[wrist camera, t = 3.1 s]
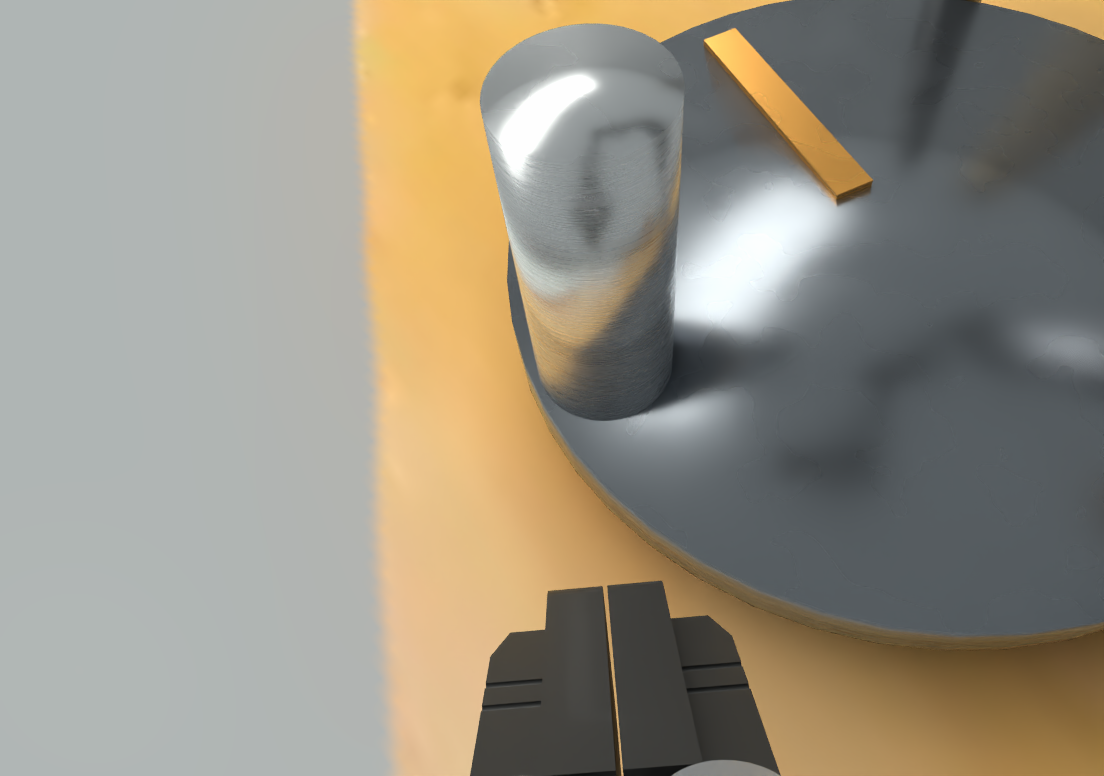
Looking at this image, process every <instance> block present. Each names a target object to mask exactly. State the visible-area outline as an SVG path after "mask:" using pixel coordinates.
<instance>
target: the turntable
mask: <svg viewBox="0 0 1104 776" xmlns="http://www.w3.org/2000/svg"><path fill="white" fill-rule="evenodd" d="M480 106H481V113H482V118H483V122H484V127H485V131H486V136H487V141H488V145H489V150H490V154H491V159H492V163H493V168H494V173H495V177H496V182H497V186H498V191H499V195H500V200H501V205H502V209H503V214H504V218H505V223H506V228H507V232H508V237H509V252H508V275H507V283H508V291H509V300H510V308H511V316H512V323H513V327H514V331H515V335H516V339H517V343H518V347H519V351H520V355H521V358H522V362H523V365H524V369H525V372H526V376H527V379H528V382H529V386H530V389H531V392H532V394H533V396H534V399H535V401H536V403H537V405H538V407H539V409H540V411H541V414H542V416H543V418H544V420H545V422H546V424H547V427H548V429H549V431H550V432H551V434H552V436H553V437H554V439H555V440H556V442H557V443H558V445H559V446H560V448H561V449H562V451H563V452H564V454H565V455H566V457H567V458H568V460H569V462H570V463H571V465H572V466H573V468H574V469H575V471H576V472H577V473H578V474H579V475H580V477H581V478H582V479H583V480H584V481H585V482H586V483H587V485H588V486H589V487H590V488H591V489H592V490H593V491H594V493H595V494H596V495H597V496H598V497H599V498H600V499H601V501H602V502H603V503H604V504H605V505H606V506H607V507H608V509H609V510H610V511H611V512H613V513H614V514H615V515H616V516H617V517H618V518H619V519H621V520H622V521H623V522H624V523H625V524H626V525H627V526H629V527H630V528H631V529H632V530H633V531H634V532H635V533H637V534H638V535H639V536H640V537H641V538H642V539H643V540H644V541H646V542H647V543H648V544H649V545H650V546H652V547H653V548H654V549H656V550H657V551H659V552H660V553H662V554H663V555H665V556H666V557H668V558H669V559H671V560H672V561H674V562H675V563H677V564H678V565H680V566H681V567H683V568H684V569H686V570H687V571H689V572H690V573H691V574H693V575H694V576H696V577H697V578H699V579H701V580H703V581H705V582H707V583H709V584H711V585H713V586H715V587H717V588H718V589H720V590H722V591H724V592H726V593H728V594H730V595H732V596H734V597H736V598H738V599H740V600H742V601H744V602H746V603H748V604H750V605H752V606H754V607H757V608H759V609H762V610H765V611H768V612H770V613H773V614H776V615H778V616H781V617H784V618H787V619H789V620H792V621H795V622H797V623H800V624H803V625H806V626H808V627H811V628H814V629H819V630H823V631H827V632H831V633H836V634H840V635H844V636H848V637H852V638H857V639H861V640H865V641H869V642H874V643H880V644H889V645H898V646H907V647H916V648H925V649H934V650H993V649H1012V648H1018V647H1025V646H1032V645H1038V644H1045V643H1052V642H1059V641H1065V640H1071V639H1074V638H1077V637H1081V636H1084V635H1087V634H1091V633H1094V632H1097V631H1101V630H1104V40H1102V39H1099V38H1097V37H1095V36H1092V35H1090V34H1087V33H1085V32H1082V31H1080V30H1078V29H1075V28H1072V27H1069V26H1066V25H1063V24H1060V23H1057V22H1053V21H1050V20H1047V19H1044V18H1041V17H1038V16H1035V15H1031V14H1028V13H1023V12H1019V11H1015V10H1011V9H1006V8H1002V7H998V6H993V5H989V4H985V3H978V2H971V1H965V0H791V1H785V2H779V3H773V4H768V5H764V6H760V7H756V8H752V9H749V10H745V11H741V12H737V13H733V14H729V15H727V16H724V17H721V18H718V19H715V20H713V21H710V22H707V23H704V24H701V25H699V26H696V27H693V28H691V29H689V30H687V31H684V32H682V33H680V34H678V35H676V36H674V37H672V38H670V39H667V40H665V41H663V42H661V43H659V42H657V41H656V40H655V39H653V38H651V37H649V36H647V35H645V34H643V33H640V32H638V31H635V30H632V29H629V28H625V27H621V26H615V25H608V24H577V25H569V26H563V27H559V28H555V29H551V30H548V31H545V32H542V33H539V34H537V35H534V36H532V37H530V38H528V39H526V40H524V41H522V42H521V43H519V44H517V45H516V46H514V47H513V48H511V49H510V50H509V51H507V52H506V53H505V54H504V55H503V56H502V57H501V58H499V60H498V61H497V62H496V63H495V64H494V65H493V67H492V68H491V70H490V71H489V73H488V74H487V76H486V78H485V80H484V83H483V86H482V90H481V95H480Z"/></svg>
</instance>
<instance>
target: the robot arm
mask: <svg viewBox="0 0 1104 776" xmlns="http://www.w3.org/2000/svg"><path fill="white" fill-rule="evenodd" d="M607 587H608V599H609V611H610V623H611V634H612V646H613V658H614V669H615V681H616V693H617V704H618V716H619V728H620V739H621V751H622V763H623V773H624V776H781V775H780V773H779V770H778V767H777V764H776V761H775V758H774V755H773V753H772V750H771V747H770V744H769V741H768V738H767V735H766V732H765V730H764V727H763V724H762V721H761V718H760V715H759V712H758V709H757V707H756V704H755V701H754V698H753V695H752V692H751V689H749V684H748V681H747V678H746V675H745V672H744V669H743V667H742V666H741V660H740V658H739V655H738V652H737V649H736V646H735V643H734V640H733V637H732V635H730V634H729V633H728V632H727V631H726V630H724V629H723V628H722V627H721V626H720V625H719V624H717V623H716V622H715V621H714V620H713V619H711V618H710V617H709V616H708V615H707V616H695V617H684V618H672V619H671V618H670V613H669V609H668V604H667V600H666V595H665V591H664V586H663V582H662V581H653V582H642V583H631V584H620V585H609V586H607ZM470 776H621V766H620V754H619V742H618V730H617V720H616V709H615V699H614V689H613V680H612V670H611V661H610V651H609V642H608V632H607V622H606V613H605V603H604V594H603V587H602V586H599V587H588V588H577V589H566V590H554V591H548V595H547V611H546V628H545V630H537V631H525V632H514V633H510V634H509V635H508V636H507V637H506V639H505V640H504V641H503V642H502V643H501V645H500V646H499V647H498V648H497V649H496V651H495V652H494V653H493V654H492V655H491V657H490V662H489V668H488V674H487V680H486V689H485V692H484V697H483V703H482V711H481V715H480V721H479V727H478V733H477V739H476V744H475V750H474V756H473V762H472V768H471V774H470Z"/></svg>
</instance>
